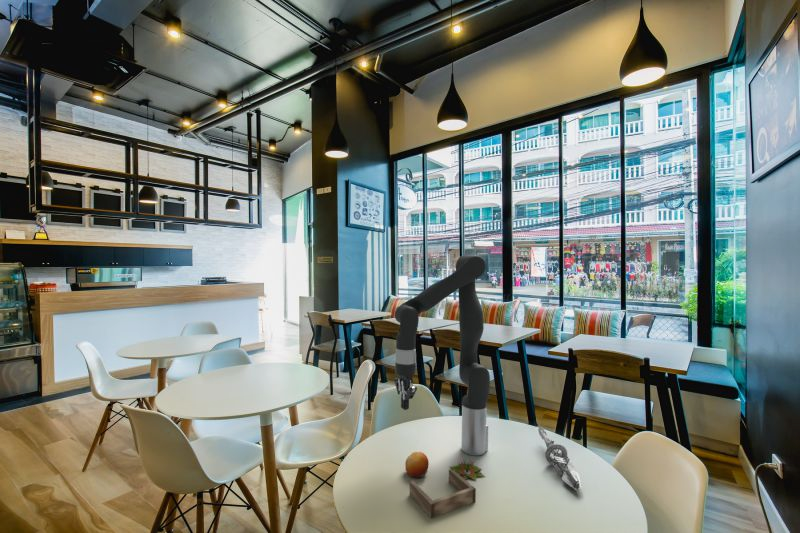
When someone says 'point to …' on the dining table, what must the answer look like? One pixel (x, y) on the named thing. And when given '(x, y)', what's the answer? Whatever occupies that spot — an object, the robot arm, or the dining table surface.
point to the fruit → (417, 464)
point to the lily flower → (467, 467)
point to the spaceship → (560, 461)
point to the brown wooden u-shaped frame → (447, 502)
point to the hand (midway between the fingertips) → (404, 408)
